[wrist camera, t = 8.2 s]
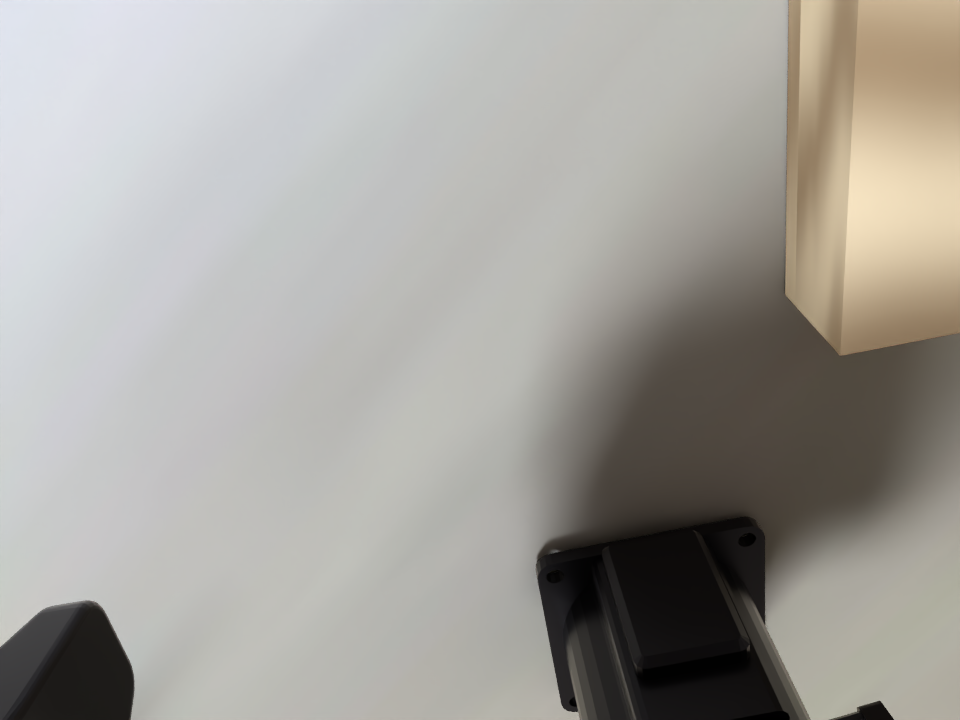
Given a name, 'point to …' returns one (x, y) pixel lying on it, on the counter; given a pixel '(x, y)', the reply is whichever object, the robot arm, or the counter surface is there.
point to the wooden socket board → (874, 170)
